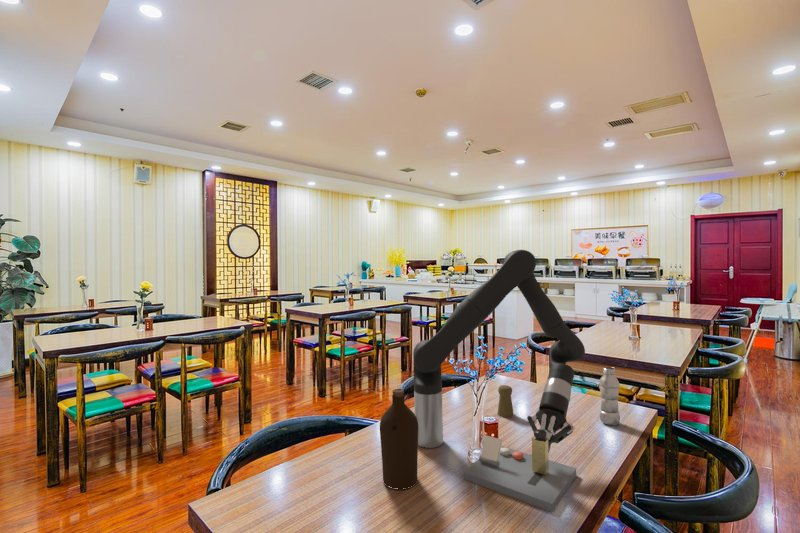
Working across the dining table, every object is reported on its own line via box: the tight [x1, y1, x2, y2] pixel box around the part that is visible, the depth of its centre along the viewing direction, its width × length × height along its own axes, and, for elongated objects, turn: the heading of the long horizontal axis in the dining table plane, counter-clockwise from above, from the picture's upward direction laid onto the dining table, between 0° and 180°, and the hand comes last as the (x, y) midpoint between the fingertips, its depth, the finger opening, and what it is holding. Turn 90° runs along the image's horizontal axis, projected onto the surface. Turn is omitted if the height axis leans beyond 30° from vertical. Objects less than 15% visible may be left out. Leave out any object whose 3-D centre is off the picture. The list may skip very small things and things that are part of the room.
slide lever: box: [531, 428, 550, 475], centre depth 109 cm, size 4×3×11 cm
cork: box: [497, 384, 515, 419], centre depth 154 cm, size 6×6×11 cm
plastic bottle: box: [598, 366, 621, 426], centre depth 144 cm, size 6×7×20 cm
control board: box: [463, 445, 577, 513], centre depth 111 cm, size 24×20×3 cm
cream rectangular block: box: [478, 434, 503, 467], centre depth 115 cm, size 6×2×7 cm, turn 51°
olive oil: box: [379, 388, 419, 489], centre depth 110 cm, size 11×11×25 cm
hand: (542, 454), depth 111 cm, fingers closed
